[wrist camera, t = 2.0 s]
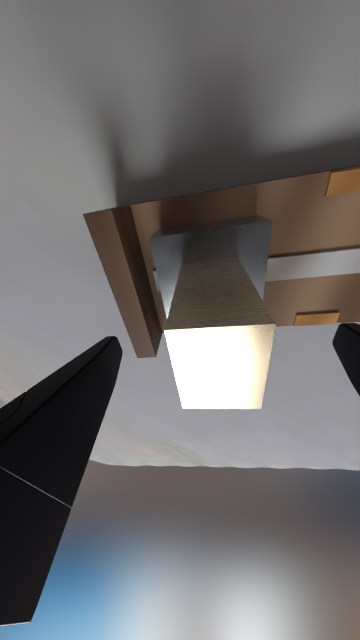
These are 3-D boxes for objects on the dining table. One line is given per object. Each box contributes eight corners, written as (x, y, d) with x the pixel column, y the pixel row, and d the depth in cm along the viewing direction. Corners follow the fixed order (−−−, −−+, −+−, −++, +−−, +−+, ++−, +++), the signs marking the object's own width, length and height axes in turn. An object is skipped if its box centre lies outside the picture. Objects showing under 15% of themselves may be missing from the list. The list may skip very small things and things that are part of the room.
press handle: (259, 215, 11) (364, 260, 4) (250, 316, 15) (295, 429, 8) (157, 229, 12) (95, 287, 5) (175, 321, 16) (155, 426, 9)
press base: (521, 137, 9) (725, 105, 6) (412, 307, 15) (481, 345, 11) (116, 207, 13) (82, 214, 9) (150, 324, 18) (137, 357, 15)
